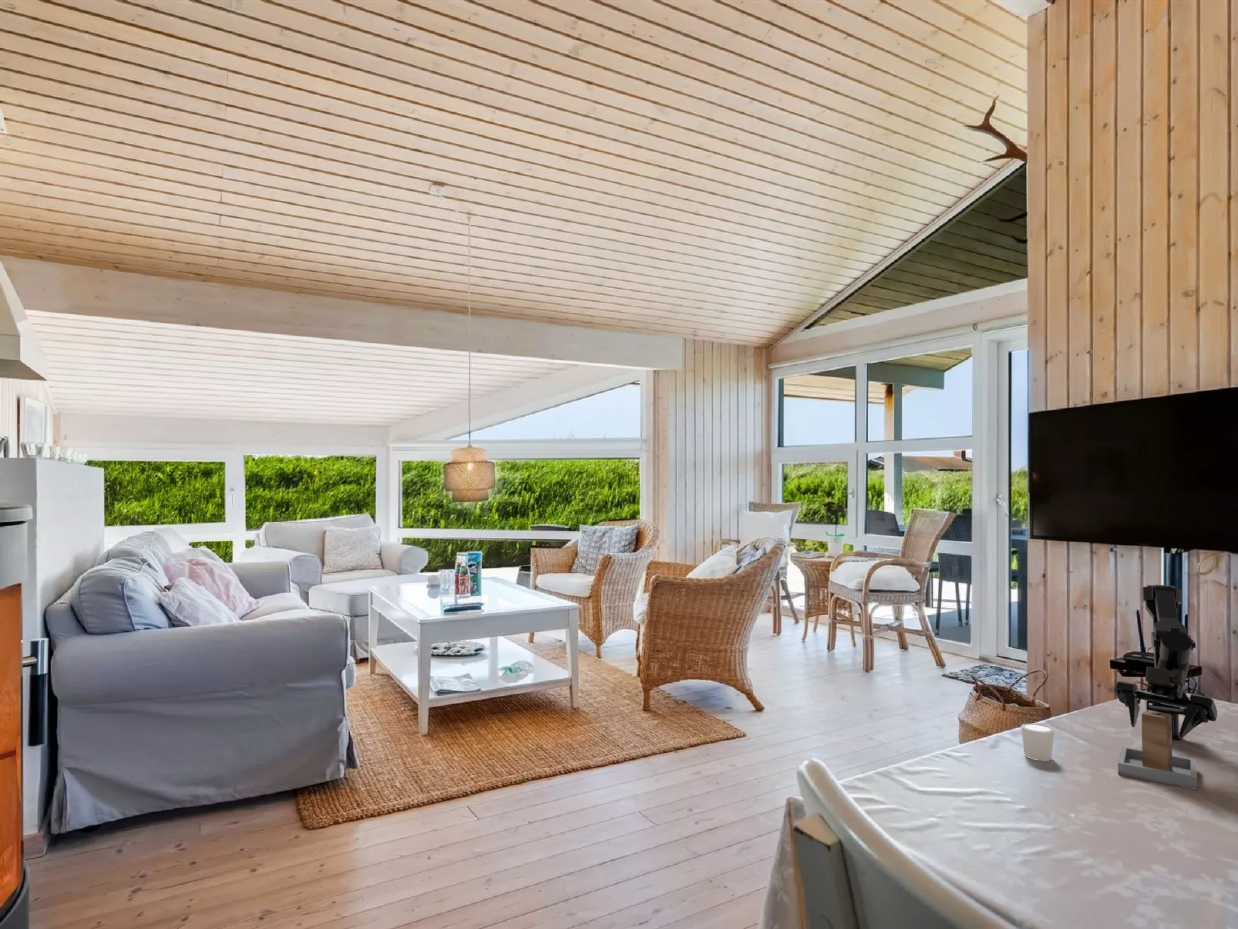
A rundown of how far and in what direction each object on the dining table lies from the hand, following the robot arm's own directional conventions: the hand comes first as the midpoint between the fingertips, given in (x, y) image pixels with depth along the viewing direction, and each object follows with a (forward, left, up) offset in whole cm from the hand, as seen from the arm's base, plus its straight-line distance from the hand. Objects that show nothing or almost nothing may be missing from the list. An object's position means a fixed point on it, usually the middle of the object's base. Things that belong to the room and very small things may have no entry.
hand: (1156, 731), depth 169 cm
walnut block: (0, 0, -9) cm, 9 cm away
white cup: (+6, -23, -9) cm, 25 cm away
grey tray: (0, 0, -9) cm, 9 cm away
